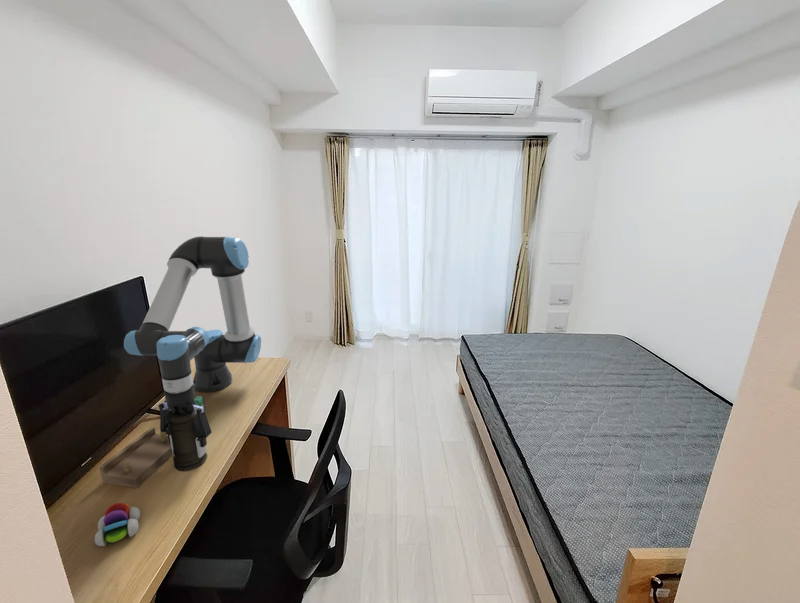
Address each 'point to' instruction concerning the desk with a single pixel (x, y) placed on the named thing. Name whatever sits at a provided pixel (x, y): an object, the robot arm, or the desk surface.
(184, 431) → the container
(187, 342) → the robot arm
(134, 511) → the rainbow striped lobed toy
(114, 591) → the desk surface
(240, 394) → the desk surface
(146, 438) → the ledge
